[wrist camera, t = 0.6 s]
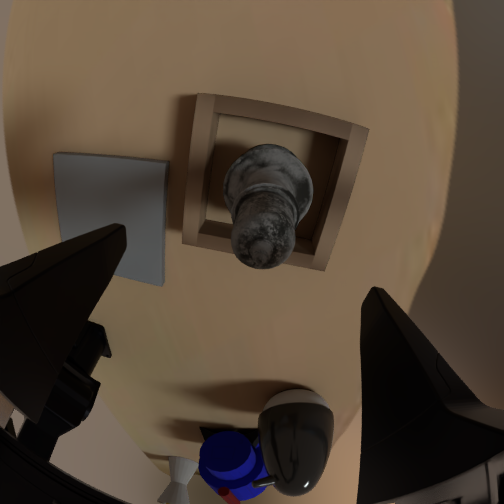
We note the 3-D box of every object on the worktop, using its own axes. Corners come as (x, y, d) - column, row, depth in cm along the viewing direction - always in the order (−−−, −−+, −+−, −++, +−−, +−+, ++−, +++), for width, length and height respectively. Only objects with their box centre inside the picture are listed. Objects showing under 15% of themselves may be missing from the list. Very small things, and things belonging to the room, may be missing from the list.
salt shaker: (216, 167, 21) (156, 241, 11) (280, 125, 19) (284, 156, 9) (259, 225, 23) (243, 335, 13) (321, 189, 21) (360, 282, 11)
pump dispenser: (272, 372, 33) (265, 487, 20) (344, 385, 34) (354, 487, 21) (250, 406, 38) (239, 497, 25) (312, 416, 39) (313, 501, 26)
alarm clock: (217, 445, 49) (206, 505, 37) (194, 421, 44) (178, 493, 31) (274, 445, 47) (269, 510, 34) (261, 422, 41) (254, 502, 28)
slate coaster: (164, 281, 27) (162, 286, 26) (69, 257, 27) (65, 261, 26) (169, 161, 21) (165, 163, 20) (58, 151, 21) (53, 154, 20)
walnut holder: (320, 255, 24) (324, 271, 22) (190, 229, 24) (181, 243, 22) (359, 125, 18) (369, 128, 16) (206, 93, 18) (197, 92, 16)
